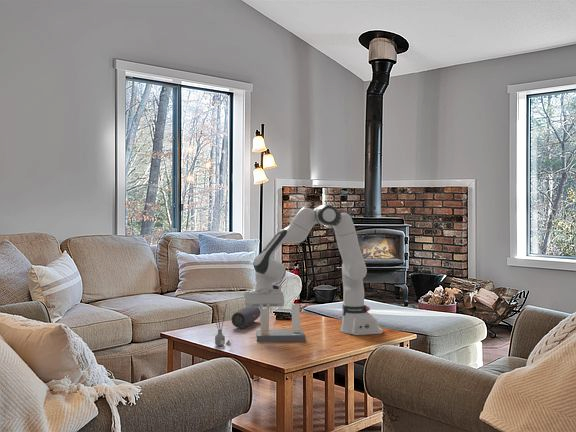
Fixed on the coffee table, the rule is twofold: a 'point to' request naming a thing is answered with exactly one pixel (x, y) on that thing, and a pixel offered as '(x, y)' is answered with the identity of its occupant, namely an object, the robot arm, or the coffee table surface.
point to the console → (280, 336)
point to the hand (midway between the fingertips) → (265, 312)
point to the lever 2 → (295, 317)
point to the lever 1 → (264, 320)
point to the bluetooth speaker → (245, 316)
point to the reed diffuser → (220, 332)
